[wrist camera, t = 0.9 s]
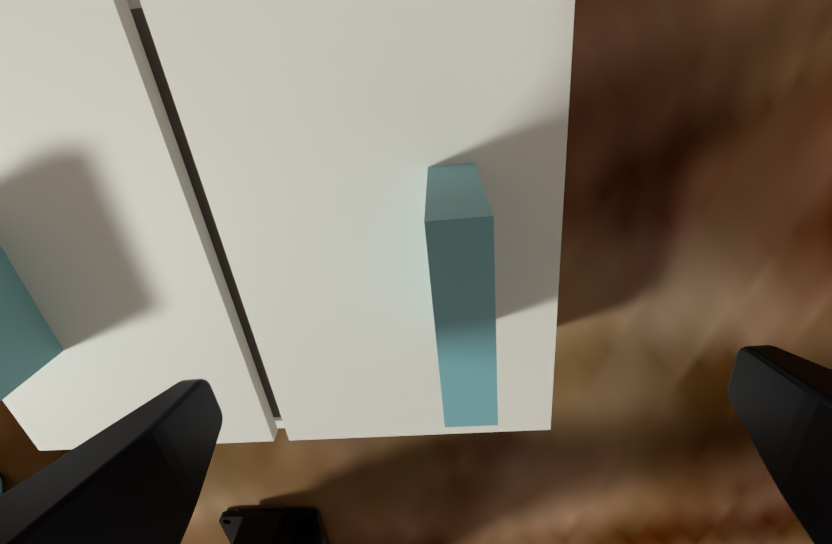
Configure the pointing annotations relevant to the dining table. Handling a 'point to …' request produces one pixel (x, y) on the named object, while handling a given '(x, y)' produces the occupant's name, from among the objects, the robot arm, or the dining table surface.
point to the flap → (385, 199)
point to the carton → (201, 196)
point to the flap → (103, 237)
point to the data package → (1, 487)
